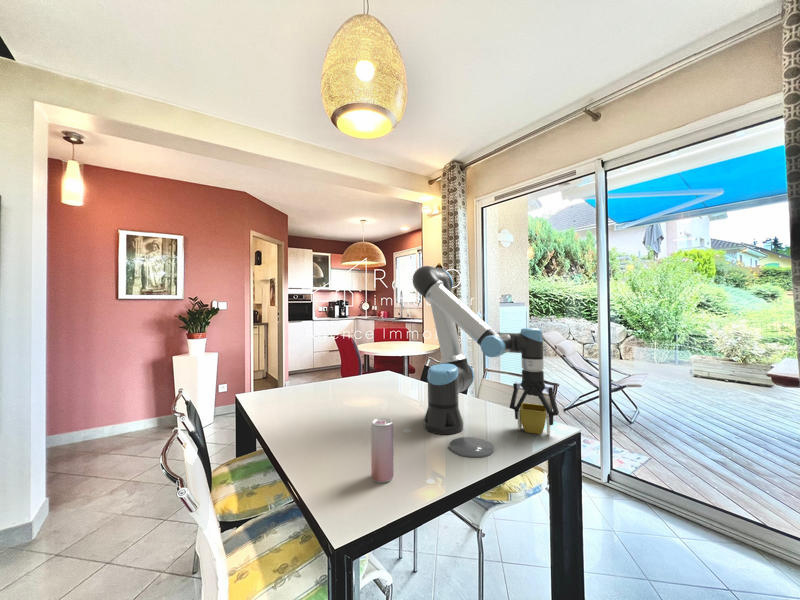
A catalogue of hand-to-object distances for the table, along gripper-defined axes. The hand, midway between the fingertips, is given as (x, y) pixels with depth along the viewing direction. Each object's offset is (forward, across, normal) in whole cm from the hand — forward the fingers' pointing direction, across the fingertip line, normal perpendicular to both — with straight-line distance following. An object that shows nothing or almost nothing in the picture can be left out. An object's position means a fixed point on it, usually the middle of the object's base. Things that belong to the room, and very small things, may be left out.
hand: (534, 430), depth 119 cm
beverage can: (0, -27, -57) cm, 63 cm away
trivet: (0, -14, -26) cm, 30 cm away
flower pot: (0, 0, 0) cm, 0 cm away
